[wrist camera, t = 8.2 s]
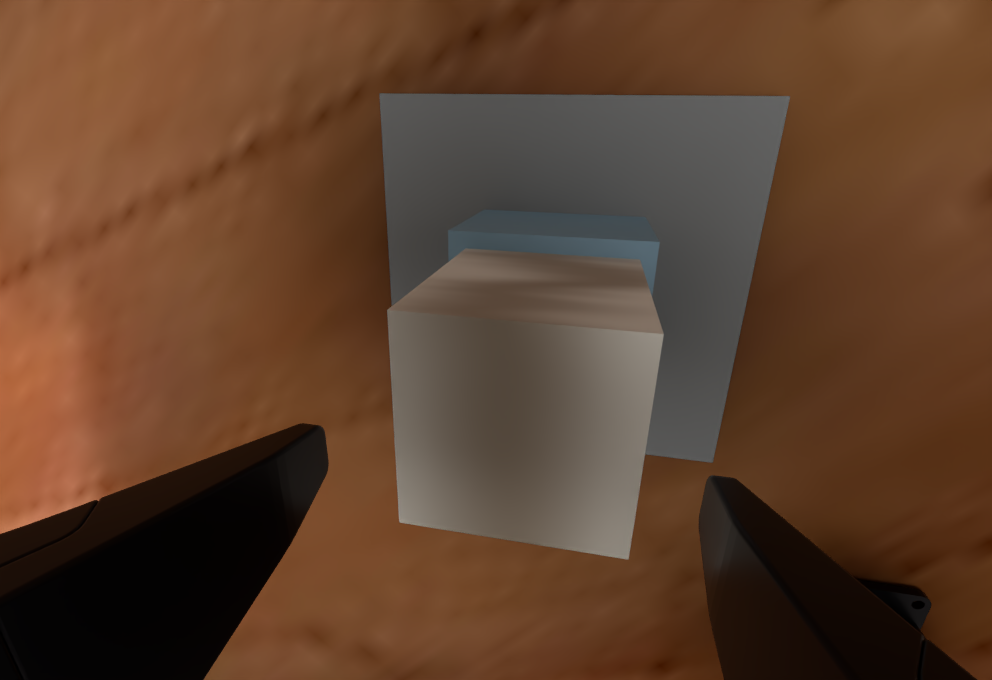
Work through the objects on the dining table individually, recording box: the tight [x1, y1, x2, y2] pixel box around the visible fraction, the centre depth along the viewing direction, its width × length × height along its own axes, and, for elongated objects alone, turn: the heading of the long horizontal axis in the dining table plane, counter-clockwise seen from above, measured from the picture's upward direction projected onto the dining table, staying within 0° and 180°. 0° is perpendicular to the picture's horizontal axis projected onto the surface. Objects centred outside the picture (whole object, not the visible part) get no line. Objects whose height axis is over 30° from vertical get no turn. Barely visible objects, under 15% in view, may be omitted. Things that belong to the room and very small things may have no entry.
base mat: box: [379, 93, 790, 463], centre depth 21 cm, size 14×14×1 cm
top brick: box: [387, 248, 664, 559], centre depth 13 cm, size 5×5×6 cm
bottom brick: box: [448, 210, 660, 296], centre depth 18 cm, size 6×6×5 cm
